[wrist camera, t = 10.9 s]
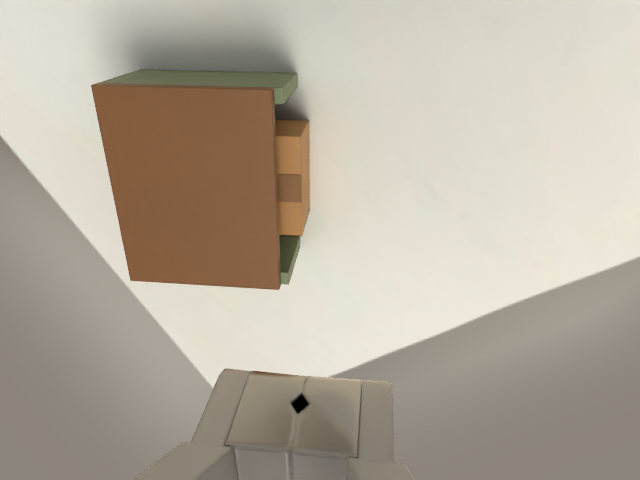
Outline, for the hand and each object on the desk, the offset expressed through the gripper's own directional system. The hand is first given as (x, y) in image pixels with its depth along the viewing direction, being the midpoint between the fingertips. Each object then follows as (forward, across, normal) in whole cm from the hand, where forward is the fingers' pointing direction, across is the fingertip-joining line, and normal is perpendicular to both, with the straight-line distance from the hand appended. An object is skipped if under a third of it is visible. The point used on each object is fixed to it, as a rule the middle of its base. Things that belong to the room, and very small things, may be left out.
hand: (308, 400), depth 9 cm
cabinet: (+25, +9, +4) cm, 27 cm away
